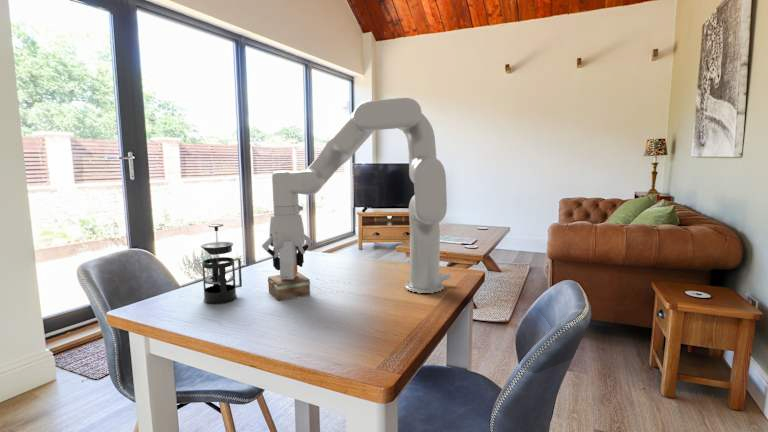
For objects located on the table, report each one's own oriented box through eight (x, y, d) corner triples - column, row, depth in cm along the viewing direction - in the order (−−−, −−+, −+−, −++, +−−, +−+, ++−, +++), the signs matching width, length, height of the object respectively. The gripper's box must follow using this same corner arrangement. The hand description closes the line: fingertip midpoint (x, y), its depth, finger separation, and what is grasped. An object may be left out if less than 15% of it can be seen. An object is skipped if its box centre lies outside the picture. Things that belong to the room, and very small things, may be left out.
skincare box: (293, 279, 131) (292, 241, 129) (280, 279, 131) (278, 241, 129) (298, 274, 137) (296, 237, 135) (285, 274, 137) (283, 237, 135)
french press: (205, 306, 123) (200, 228, 120) (198, 298, 130) (193, 224, 127) (246, 299, 129) (242, 224, 126) (237, 291, 137) (233, 220, 134)
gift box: (298, 286, 141) (298, 272, 141) (310, 294, 133) (309, 279, 132) (266, 292, 136) (265, 276, 135) (276, 301, 127) (275, 284, 127)
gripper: (308, 207, 139) (310, 261, 141) (254, 211, 130) (257, 269, 132) (317, 210, 132) (319, 266, 135) (261, 214, 123) (264, 274, 126)
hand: (288, 267), depth 133 cm, fingers closed on skincare box, 6 cm apart
